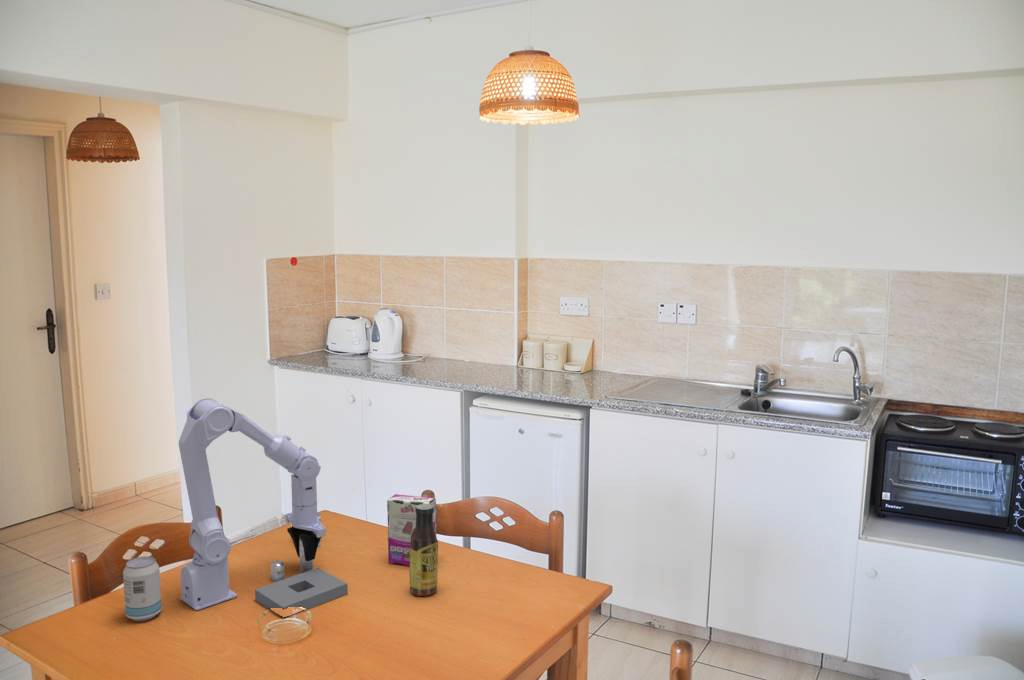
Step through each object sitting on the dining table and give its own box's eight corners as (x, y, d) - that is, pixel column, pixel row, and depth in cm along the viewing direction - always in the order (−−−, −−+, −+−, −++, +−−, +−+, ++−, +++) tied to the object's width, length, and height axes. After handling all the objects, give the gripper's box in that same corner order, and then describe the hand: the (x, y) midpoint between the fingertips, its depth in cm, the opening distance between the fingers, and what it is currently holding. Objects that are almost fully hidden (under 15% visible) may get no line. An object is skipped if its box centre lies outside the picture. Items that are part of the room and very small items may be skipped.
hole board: (283, 618, 168) (283, 607, 168) (255, 600, 176) (254, 589, 176) (347, 594, 180) (347, 583, 179) (318, 577, 188) (317, 567, 188)
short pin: (275, 583, 185) (274, 566, 184) (268, 579, 187) (268, 563, 186) (287, 579, 187) (286, 562, 187) (280, 575, 189) (279, 559, 189)
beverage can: (169, 610, 172) (166, 557, 170) (146, 625, 165) (143, 570, 163) (142, 606, 173) (138, 553, 172) (118, 621, 167) (114, 566, 165)
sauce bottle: (424, 600, 177) (423, 514, 174) (403, 592, 181) (402, 507, 178) (444, 589, 182) (443, 505, 179) (424, 582, 186) (423, 500, 183)
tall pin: (304, 575, 189) (303, 538, 188) (297, 571, 191) (296, 535, 190) (315, 571, 191) (314, 535, 190) (308, 567, 193) (307, 532, 192)
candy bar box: (437, 561, 197) (437, 497, 195) (429, 569, 193) (429, 504, 190) (396, 555, 201) (395, 492, 198) (387, 563, 196) (386, 499, 194)
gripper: (336, 506, 187) (337, 561, 189) (302, 491, 197) (304, 544, 199) (309, 513, 182) (311, 570, 184) (276, 498, 192) (278, 552, 194)
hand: (306, 557), depth 191 cm, fingers closed on tall pin, 3 cm apart
